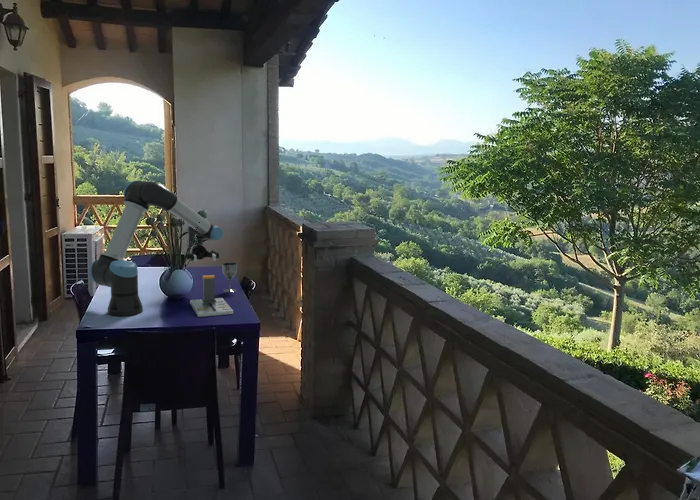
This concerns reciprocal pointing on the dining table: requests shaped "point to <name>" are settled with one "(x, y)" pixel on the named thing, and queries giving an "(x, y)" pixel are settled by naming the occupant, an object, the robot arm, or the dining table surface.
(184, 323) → the dining table surface
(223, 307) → the plate
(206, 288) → the block
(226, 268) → the wine glass
